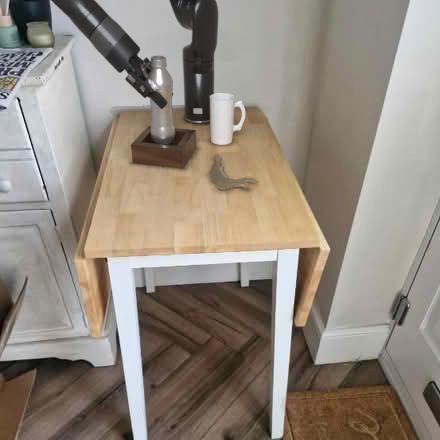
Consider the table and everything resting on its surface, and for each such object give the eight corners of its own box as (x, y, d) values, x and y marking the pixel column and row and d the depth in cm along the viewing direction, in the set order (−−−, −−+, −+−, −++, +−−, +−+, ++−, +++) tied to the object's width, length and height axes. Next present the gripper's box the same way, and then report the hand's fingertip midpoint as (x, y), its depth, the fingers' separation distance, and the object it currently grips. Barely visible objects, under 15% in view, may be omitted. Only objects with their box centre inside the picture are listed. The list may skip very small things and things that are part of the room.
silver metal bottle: (155, 148, 109) (149, 62, 96) (148, 139, 114) (140, 55, 100) (179, 145, 111) (176, 60, 98) (171, 135, 116) (167, 53, 102)
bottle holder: (150, 143, 121) (148, 125, 118) (196, 148, 119) (196, 130, 116) (133, 163, 111) (130, 144, 108) (183, 168, 109) (182, 149, 106)
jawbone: (226, 199, 98) (226, 191, 97) (187, 166, 112) (186, 159, 110) (259, 188, 101) (259, 180, 100) (217, 157, 115) (216, 149, 113)
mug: (211, 146, 120) (211, 101, 112) (208, 136, 125) (208, 93, 117) (246, 144, 121) (249, 100, 113) (241, 135, 126) (243, 92, 118)
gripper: (114, 38, 91) (172, 100, 98) (133, 26, 102) (183, 82, 109) (95, 64, 95) (151, 122, 102) (114, 50, 106) (164, 103, 113)
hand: (167, 101), depth 105 cm, fingers closed on silver metal bottle, 6 cm apart
